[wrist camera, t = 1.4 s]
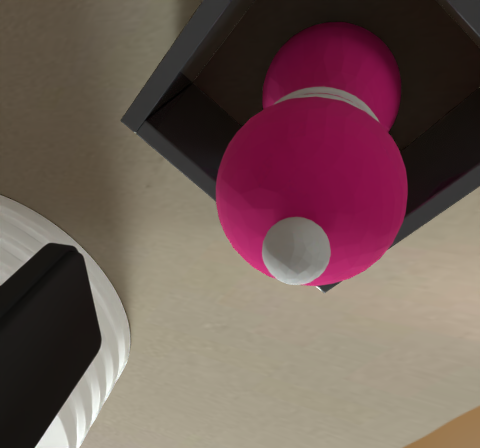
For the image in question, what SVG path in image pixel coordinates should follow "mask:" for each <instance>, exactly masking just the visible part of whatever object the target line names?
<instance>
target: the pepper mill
mask: <svg viewBox="0 0 480 448" xmlns="http://www.w3.org/2000/svg"><path fill="white" fill-rule="evenodd" d="M400 100H401V77H400V72H399V67H398V65H397V62H396V60H395V58H394V56H393V54H392V53H391V51H390V49H389V48H388V47H387V46H386V44H385V43H384V42H383V41H382V40H381V39H380V38H378V37H377V36H376V35H375V34H373V33H372V32H370V31H368V30H366V29H365V28H363V27H360V26H357V25H354V24H351V23H346V22H327V23H322V24H317V25H314V26H311V27H309V28H306V29H304V30H302V31H301V32H299V33H297V34H296V35H294V36H292V37H291V38H290V39H289V40H288V41H287V42H286V43H285V44H284V45H283V46H282V47H281V48H280V50H279V51H278V52H277V54H276V55H275V56H274V58H273V60H272V62H271V64H270V66H269V68H268V71H267V74H266V77H265V81H264V85H263V96H262V105H263V110H262V111H261V112H259V113H258V114H256V115H254V116H253V117H251V118H250V119H249V120H248V121H247V122H246V123H245V124H244V125H243V126H242V127H241V128H240V130H239V131H238V132H237V133H236V134H235V136H234V137H233V138H232V140H231V141H230V143H229V144H228V147H227V149H226V151H225V153H224V155H223V158H222V161H221V164H220V167H219V170H218V175H217V181H216V204H217V210H218V215H219V220H220V222H221V225H222V227H223V230H224V232H225V234H226V236H227V238H228V240H229V241H230V243H231V244H232V246H233V248H234V249H235V250H236V251H237V252H238V253H239V254H240V255H241V256H242V257H243V258H244V259H245V260H246V261H247V262H248V263H249V264H250V265H251V266H253V267H254V268H256V269H257V270H259V271H261V272H262V273H264V274H266V275H267V276H269V277H272V278H275V279H278V280H279V281H281V282H284V283H287V284H292V285H309V286H319V285H326V284H333V283H336V282H339V281H343V280H346V279H349V278H351V277H353V276H355V275H357V274H359V273H361V272H363V271H365V270H366V269H367V268H369V267H370V266H371V265H372V264H374V263H375V262H376V261H378V260H379V259H380V258H381V257H382V255H383V254H384V253H385V252H386V251H387V249H388V248H389V247H390V246H391V245H392V243H393V241H394V239H395V237H396V235H397V233H398V231H399V229H400V227H401V225H402V223H403V220H404V216H405V212H406V204H407V196H408V184H407V175H406V168H405V165H404V162H403V159H402V156H401V154H400V151H399V149H398V147H397V145H396V143H395V142H394V140H393V138H392V137H391V136H390V134H389V133H388V132H389V131H390V129H391V127H392V126H393V124H394V122H395V119H396V116H397V114H398V110H399V105H400Z"/></svg>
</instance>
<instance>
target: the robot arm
mask: <svg viewBox="0 0 480 448" xmlns="http://www.w3.org/2000/svg"><path fill="white" fill-rule="evenodd" d="M101 342H102V337H101V332H100V328H99V323H98V319H97V314H96V310H95V305H94V300H93V296H92V291H91V287H90V282H89V278H88V273H87V269H86V264H85V260H84V257H83V255H82V254H81V253H79V252H78V250H77V248H76V247H75V246H72V245H65V244H58V243H48V244H46V245H45V246H44V247H42V248H41V249H40V250H39V251H38V252H37V253H36V254H35V255H34V256H33V257H31V258H30V259H29V260H28V261H27V262H26V263H25V264H24V265H23V266H22V267H20V268H19V269H18V270H17V271H16V272H15V273H14V274H13V275H12V276H11V277H10V278H8V279H7V280H6V281H5V282H4V283H3V284H2V285H1V286H0V448H35V447H36V445H37V444H38V442H39V441H40V439H41V438H42V436H43V435H44V433H45V432H46V430H47V429H48V427H49V426H50V424H51V423H52V421H53V420H54V418H55V417H56V415H57V414H58V412H59V411H60V409H61V408H62V406H63V405H64V403H65V402H66V400H67V399H68V397H69V396H70V394H71V393H72V391H73V390H74V388H75V387H76V385H77V384H78V382H79V381H80V379H81V378H82V376H83V375H84V373H85V372H86V370H87V369H88V367H89V366H90V364H91V363H92V361H93V360H94V358H95V357H96V355H97V354H98V352H99V350H100V347H101Z"/></svg>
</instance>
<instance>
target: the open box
mask: <svg viewBox="0 0 480 448" xmlns="http://www.w3.org/2000/svg"><path fill="white" fill-rule="evenodd" d="M254 1H255V0H203V1H202V2H201V4H200V5H199V7H198V8H197V9H196V11H195V12H194V14H193V15H192V17H191V18H190V20H189V21H188V23H187V24H186V26H185V27H184V28H183V30H182V31H181V33H180V34H179V36H178V37H177V39H176V40H175V42H174V43H173V44H172V46H171V47H170V49H169V50H168V52H167V53H166V55H165V56H164V58H163V59H162V61H161V62H160V63H159V65H158V66H157V68H156V69H155V71H154V72H153V74H152V75H151V77H150V78H149V79H148V81H147V82H146V84H145V85H144V87H143V88H142V90H141V91H140V93H139V94H138V95H137V97H136V98H135V100H134V101H133V103H132V104H131V106H130V107H129V109H128V110H127V112H126V113H125V114H124V116H123V117H122V119H121V122H122V123H124V124H125V125H126V126H127V127H128V128H130V129H131V130H132V131H133V132H134V133H136V134H137V135H138V136H139V137H141V138H142V139H143V140H144V141H145V142H146V143H148V144H149V145H150V146H151V147H152V148H153V149H155V150H156V151H157V152H158V153H159V154H161V155H162V156H163V157H164V158H165V159H166V160H168V161H169V162H170V163H171V164H172V165H174V166H175V167H176V168H177V169H178V170H179V171H181V172H182V173H183V174H184V175H185V176H186V177H188V178H189V179H190V180H191V181H192V182H194V183H195V184H196V185H197V186H198V187H199V188H201V189H202V190H203V191H204V192H205V193H206V194H208V195H209V196H210V197H211V198H212V199H214V200H215V201H216V181H217V175H218V170H219V167H220V164H221V161H222V158H223V155H224V153H225V151H226V149H227V147H228V144H229V143H230V141H231V140H232V138H233V137H234V136H235V134H236V133H237V132H238V131H239V130H240V128H241V126H240V125H239V124H238V123H237V122H236V121H235V120H234V119H233V118H231V117H230V116H229V115H228V114H227V113H226V112H225V111H224V110H223V109H221V108H220V107H219V106H218V105H217V104H216V103H215V102H214V101H213V100H212V99H210V98H209V97H208V96H207V95H206V94H205V93H204V92H203V91H202V90H200V89H199V88H198V87H197V86H196V85H195V84H194V83H193V81H194V80H195V79H196V78H197V76H198V75H199V74H200V72H201V71H202V70H203V68H204V67H205V66H206V64H207V63H208V62H209V60H210V59H211V58H212V56H213V55H214V54H215V53H216V51H217V50H218V49H219V47H220V46H221V45H222V43H223V42H224V41H225V39H226V38H227V37H228V35H229V34H230V33H231V31H232V30H233V29H234V27H235V26H236V25H237V24H238V22H239V21H240V20H241V18H242V17H243V16H244V14H245V13H246V12H247V10H248V9H249V8H250V6H251V5H252V4H253V2H254ZM436 1H437V2H438V3H439V4H440V5H441V6H442V7H443V9H444V10H445V11H446V12H447V13H448V14H449V15H450V16H451V17H452V18H453V19H454V21H455V22H456V23H457V24H458V25H459V26H460V27H461V28H462V29H463V30H464V31H465V33H466V34H467V35H468V36H469V37H470V38H471V39H472V40H473V41H474V42H475V44H476V45H477V46H478V47H479V48H480V0H436ZM400 154H401V156H402V159H403V162H404V165H405V168H406V175H407V184H408V196H407V204H406V212H405V216H404V220H403V223H402V225H401V227H400V229H399V231H398V233H397V235H396V237H395V239H394V241H393V243H392V245H391V246H390V247H389V248H391V247H392V246H394V245H395V244H397V243H398V242H400V241H401V240H402V239H404V238H405V237H407V236H408V235H410V234H411V233H413V232H414V231H416V230H417V229H418V228H420V227H421V226H423V225H424V224H426V223H427V222H429V221H430V220H431V219H433V218H434V217H436V216H437V215H439V214H440V213H442V212H443V211H445V210H446V209H447V208H449V207H450V206H452V205H453V204H455V203H456V202H458V201H459V200H460V199H462V198H463V197H465V196H466V195H468V194H469V193H471V192H472V191H474V190H475V189H476V188H478V187H479V186H480V88H478V89H477V90H476V91H475V92H474V93H472V94H471V95H470V96H469V97H467V98H466V99H465V100H464V101H463V102H461V103H460V104H459V105H458V106H456V107H455V108H454V109H453V110H452V111H450V112H449V113H448V114H447V115H445V116H444V117H443V118H442V119H441V120H439V121H438V122H437V123H436V124H434V125H433V126H432V127H431V128H430V129H428V130H427V131H426V132H425V133H423V134H422V135H421V136H420V137H419V138H417V139H416V140H415V141H414V142H412V143H411V144H410V145H409V146H408V147H406V148H405V149H404V150H403V151H401V152H400ZM389 248H388V249H389ZM388 249H387V250H388ZM340 282H342V281H339V282H336V283H333V284H326V285H319V286H316V287H317V288H318V289H320V290H321V291H322V292H323V293H326V292H327V291H328V290H330V289H331V288H333V287H334V286H336V285H337V284H339V283H340Z"/></svg>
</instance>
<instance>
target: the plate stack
mask: <svg viewBox="0 0 480 448" xmlns="http://www.w3.org/2000/svg"><path fill="white" fill-rule="evenodd" d="M48 243H58V244H65V245H72V246H75V247H76V248H77V250H78V252H79V253H81V254H82V255H83V257H84V260H85V264H86V269H87V273H88V278H89V282H90V287H91V291H92V296H93V300H94V305H95V310H96V314H97V319H98V323H99V328H100V332H101V337H102V342H101V347H100V350H99V352H98V354H97V355H96V357H95V358H94V360H93V361H92V363H91V364H90V366H89V367H88V369H87V370H86V372H85V373H84V375H83V376H82V378H81V379H80V381H79V382H78V384H77V385H76V387H75V388H74V390H73V391H72V393H71V394H70V396H69V397H68V399H67V400H66V402H65V403H64V405H63V406H62V408H61V409H60V411H59V412H58V414H57V415H56V417H55V418H54V420H53V421H52V423H51V424H50V426H49V427H48V429H47V430H46V432H45V433H44V435H43V436H42V438H41V439H40V441H39V442H38V444H37V445H36V447H35V448H79V447H80V445H81V443H82V442H83V440H84V438H85V436H86V435H87V433H88V431H89V428H90V426H91V425H92V424H93V422H94V420H95V419H96V417H97V415H98V414H99V412H100V410H101V408H102V406H103V403H104V402H105V401H106V399H107V398H108V396H109V394H110V392H111V391H112V389H113V387H114V385H115V383H116V381H117V380H118V378H119V376H120V375H121V373H122V371H123V369H124V367H125V365H126V363H127V360H128V357H129V353H130V329H129V324H128V320H127V316H126V313H125V310H124V307H123V305H122V303H121V300H120V298H119V296H118V294H117V292H116V291H115V289H114V287H113V285H112V284H111V282H110V281H109V279H108V278H107V276H106V275H105V273H104V272H103V271H102V269H101V268H100V267H99V266H98V264H97V263H96V262H95V261H94V260H93V259H92V257H91V256H90V255H89V254H88V253H87V252H86V251H85V250H84V249H83V248H82V247H81V246H80V245H79V244H78V243H77V242H76V241H75V240H73V239H72V238H71V237H70V236H69V235H68V234H66V233H65V232H64V231H63V230H62V229H60V228H59V227H58V226H56V225H55V224H53V223H52V222H51V221H49V220H48V219H46V218H45V217H43V216H42V215H40V214H38V213H37V212H35V211H33V210H32V209H30V208H28V207H26V206H24V205H22V204H20V203H18V202H16V201H14V200H12V199H9V198H7V197H5V196H2V195H0V286H1V285H2V284H3V283H4V282H5V281H6V280H7V279H8V278H10V277H11V276H12V275H13V274H14V273H15V272H16V271H17V270H18V269H19V268H20V267H22V266H23V265H24V264H25V263H26V262H27V261H28V260H29V259H30V258H31V257H33V256H34V255H35V254H36V253H37V252H38V251H39V250H40V249H41V248H42V247H44V246H45V245H46V244H48Z"/></svg>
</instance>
